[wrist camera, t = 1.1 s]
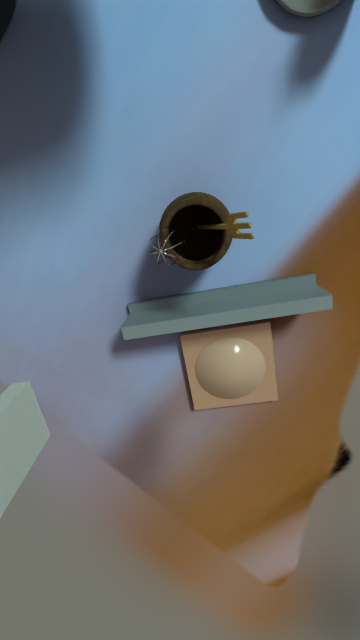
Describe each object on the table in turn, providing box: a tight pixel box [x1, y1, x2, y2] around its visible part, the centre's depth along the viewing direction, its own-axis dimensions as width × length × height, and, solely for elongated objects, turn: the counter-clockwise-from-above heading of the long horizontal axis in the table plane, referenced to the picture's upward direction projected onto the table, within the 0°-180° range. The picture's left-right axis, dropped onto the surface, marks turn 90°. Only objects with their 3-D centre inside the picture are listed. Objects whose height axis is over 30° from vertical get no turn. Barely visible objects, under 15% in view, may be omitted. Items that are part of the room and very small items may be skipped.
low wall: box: [121, 273, 333, 340], centre depth 30 cm, size 3×18×4 cm, turn 101°
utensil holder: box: [149, 192, 254, 270], centre depth 24 cm, size 6×6×12 cm
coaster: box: [180, 320, 278, 410], centre depth 34 cm, size 9×9×1 cm
